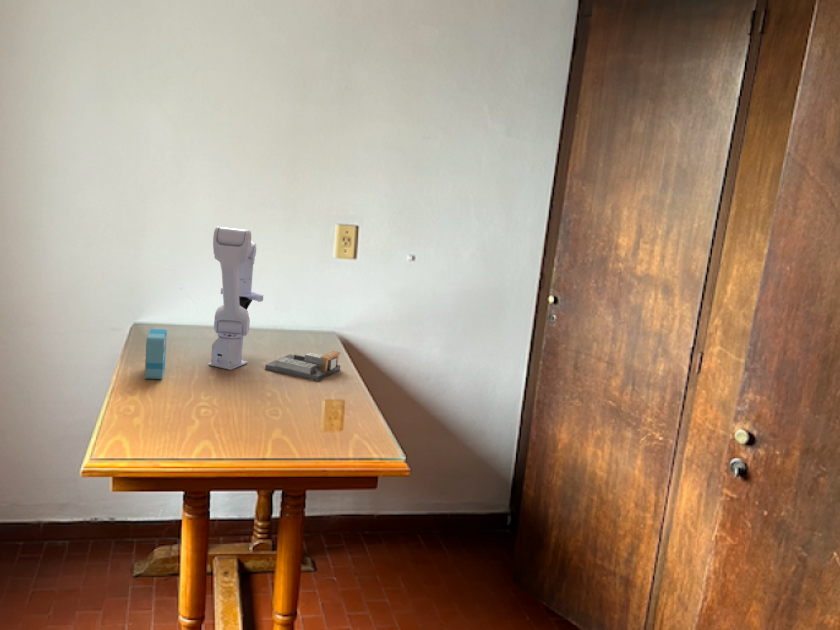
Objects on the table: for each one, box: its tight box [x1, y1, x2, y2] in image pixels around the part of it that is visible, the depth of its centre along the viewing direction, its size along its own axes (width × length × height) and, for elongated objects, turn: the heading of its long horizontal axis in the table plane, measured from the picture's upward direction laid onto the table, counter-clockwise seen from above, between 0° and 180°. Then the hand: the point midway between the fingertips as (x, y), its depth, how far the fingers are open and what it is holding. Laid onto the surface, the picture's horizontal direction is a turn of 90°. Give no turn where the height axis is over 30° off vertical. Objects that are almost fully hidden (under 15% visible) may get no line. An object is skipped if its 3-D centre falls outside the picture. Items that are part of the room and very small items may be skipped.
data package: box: [144, 328, 168, 380], centre depth 219 cm, size 12×4×12 cm, turn 14°
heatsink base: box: [264, 350, 341, 382], centre depth 240 cm, size 15×18×6 cm
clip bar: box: [304, 352, 336, 370], centre depth 241 cm, size 4×9×3 cm, turn 70°
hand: (240, 319), depth 251 cm, fingers closed
